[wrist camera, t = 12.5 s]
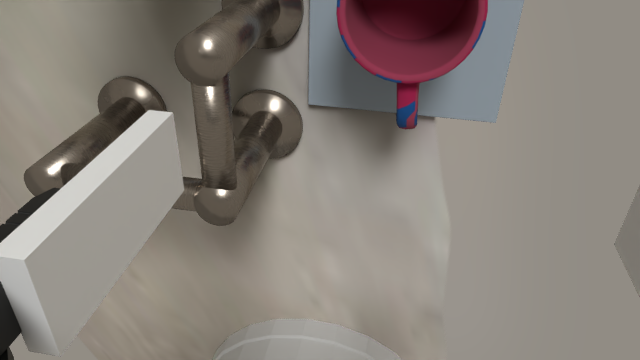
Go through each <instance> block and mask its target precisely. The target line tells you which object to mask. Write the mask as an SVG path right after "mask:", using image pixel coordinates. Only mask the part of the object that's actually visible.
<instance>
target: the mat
mask: <svg viewBox="0 0 640 360" xmlns="http://www.w3.org/2000/svg"><path fill="white" fill-rule="evenodd" d="M523 3H524V0H488V13H487V18H486V23H485V27H484V29H483V32H482V34H481V37H480V39H479V41H478V42H477V44H476V46H475V47H474V49H473V50H472V52H471V53H470V54H469V55H468V56H467V58H466V59H465V60H464V61H463V62H462V63H460V64H459V65H458V66H457V67H456V68H454V69H453V70H451V71H450V72H448V73H446V74H445V75H443V76H440V77H438V78H436V79H433V80H430V81H426V82H421V83H420V85H419V96H418V114H417V115H422V116H432V117H443V118H453V119H463V120H473V121H483V122H493V123H495V122H496V119H497V115H498V111H499V106H500V102H501V98H502V93H503V89H504V85H505V81H506V76H507V72H508V67H509V63H510V59H511V55H512V50H513V46H514V41H515V38H516V33H517V29H518V25H519V20H520V16H521V12H522V7H523ZM336 12H337V0H310V34H309V104H310V105H320V106H331V107H341V108H351V109H361V110H371V111H381V112H392V113H397V83H395V82H391V81H388V80H384V79H382V78H379V77H377V76H375V75H373V74H371V73H370V72H368V71H367V70H365V69H364V68H363V67H362V66H361V65H360V64H359V63H357V62H356V61H355V60H354V58H353V57H352V56H351V54H350V53H349V52H348V50H347V48H346V46H345V44H344V42H343V40H342V38H341V35H340V32H339V28H338V23H337V15H336Z"/></svg>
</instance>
